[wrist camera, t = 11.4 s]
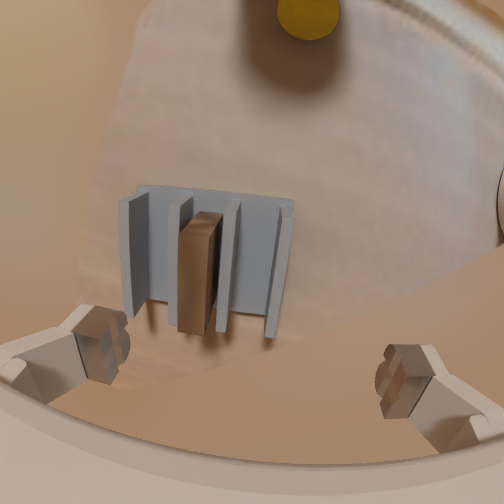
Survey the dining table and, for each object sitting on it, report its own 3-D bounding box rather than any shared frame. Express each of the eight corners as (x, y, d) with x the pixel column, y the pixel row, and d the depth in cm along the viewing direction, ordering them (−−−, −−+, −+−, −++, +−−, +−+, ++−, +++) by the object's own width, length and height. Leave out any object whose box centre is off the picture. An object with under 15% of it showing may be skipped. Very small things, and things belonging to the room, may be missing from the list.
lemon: (337, 45, 25) (357, 18, 18) (284, 53, 26) (289, 26, 18) (321, 1, 23) (335, -34, 16) (269, 8, 24) (269, -27, 17)
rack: (293, 199, 31) (298, 213, 25) (275, 311, 36) (276, 342, 30) (141, 184, 31) (116, 195, 26) (142, 293, 36) (123, 319, 30)
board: (223, 213, 31) (208, 238, 23) (217, 293, 34) (204, 335, 27) (199, 211, 31) (178, 235, 23) (195, 290, 34) (177, 331, 27)
